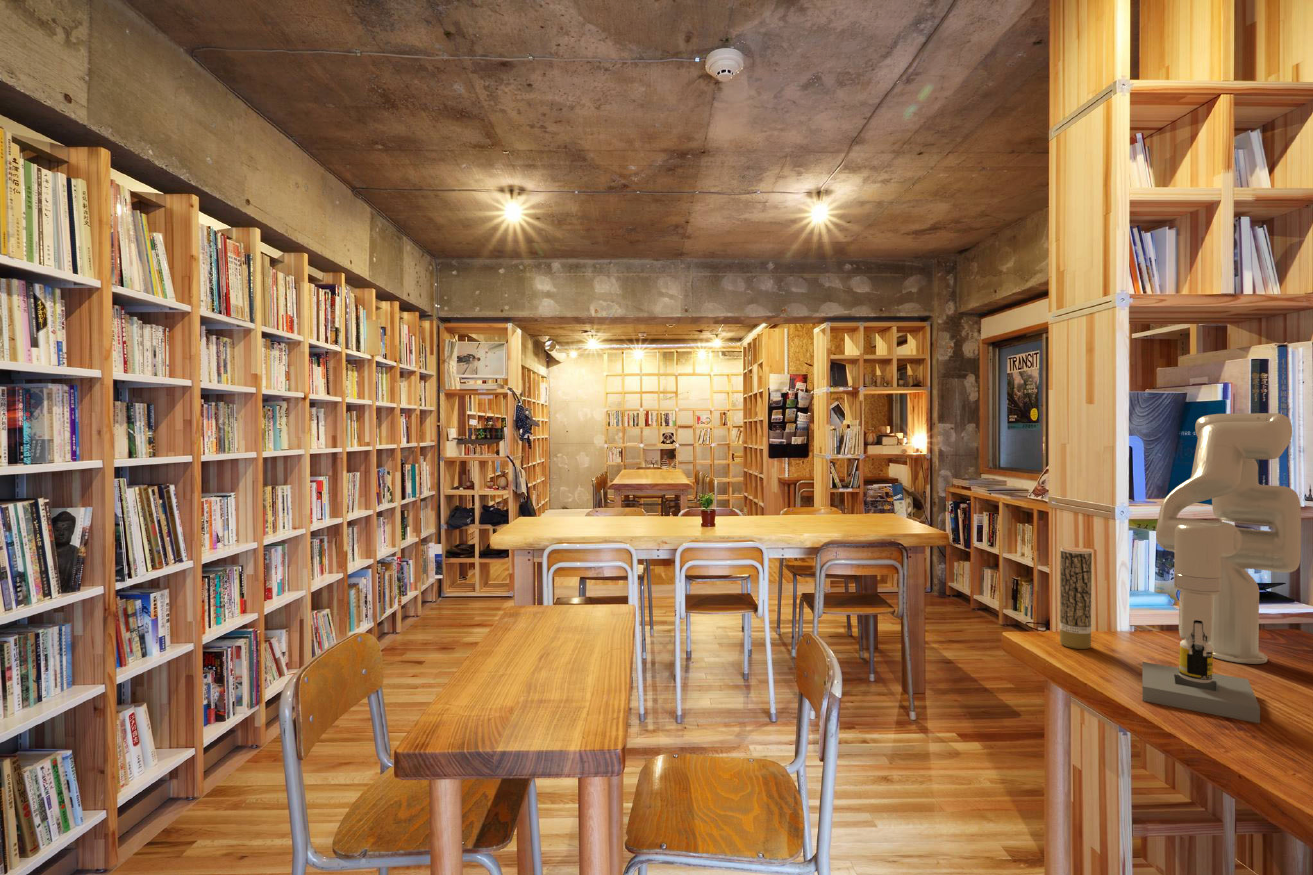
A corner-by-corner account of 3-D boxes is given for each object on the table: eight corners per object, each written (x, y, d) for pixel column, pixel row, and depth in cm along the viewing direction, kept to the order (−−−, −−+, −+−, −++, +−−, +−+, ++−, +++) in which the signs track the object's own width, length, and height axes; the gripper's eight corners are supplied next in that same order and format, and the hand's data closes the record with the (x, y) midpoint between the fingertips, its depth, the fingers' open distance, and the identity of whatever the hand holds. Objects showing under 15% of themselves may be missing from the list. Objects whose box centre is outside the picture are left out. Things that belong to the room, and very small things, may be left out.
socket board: (1142, 674, 151) (1142, 661, 151) (1247, 693, 141) (1247, 679, 141) (1142, 700, 137) (1142, 686, 137) (1259, 723, 126) (1260, 707, 126)
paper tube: (1095, 651, 168) (1096, 552, 168) (1066, 649, 169) (1066, 551, 169) (1084, 642, 174) (1084, 547, 174) (1055, 641, 176) (1056, 546, 176)
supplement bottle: (1204, 685, 135) (1205, 637, 135) (1173, 676, 140) (1174, 630, 140) (1217, 681, 138) (1218, 633, 138) (1187, 672, 143) (1187, 626, 142)
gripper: (1172, 574, 148) (1171, 655, 148) (1175, 588, 134) (1174, 678, 134) (1216, 578, 143) (1215, 662, 144) (1224, 594, 130) (1223, 686, 130)
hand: (1196, 669), depth 139 cm, fingers closed on supplement bottle, 5 cm apart
